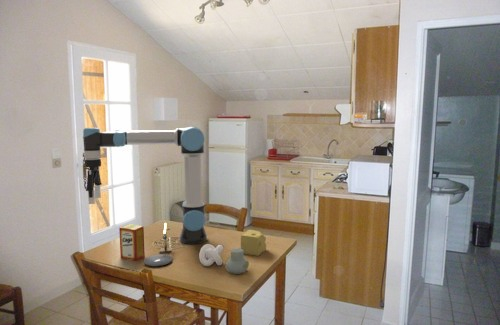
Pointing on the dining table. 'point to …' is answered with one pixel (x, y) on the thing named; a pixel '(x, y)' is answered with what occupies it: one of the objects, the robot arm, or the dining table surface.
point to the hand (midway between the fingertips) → (94, 200)
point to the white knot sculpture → (210, 255)
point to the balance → (165, 241)
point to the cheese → (253, 242)
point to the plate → (158, 260)
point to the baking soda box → (132, 242)
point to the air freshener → (237, 262)
